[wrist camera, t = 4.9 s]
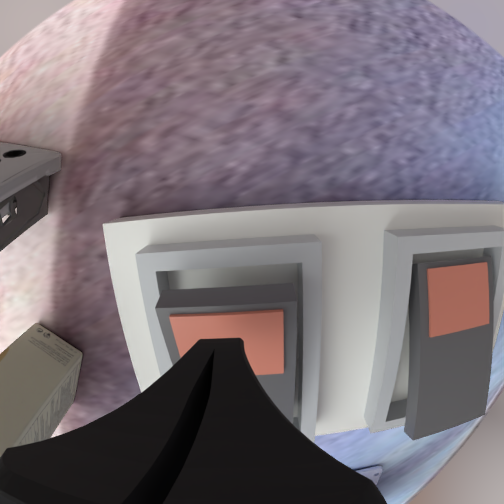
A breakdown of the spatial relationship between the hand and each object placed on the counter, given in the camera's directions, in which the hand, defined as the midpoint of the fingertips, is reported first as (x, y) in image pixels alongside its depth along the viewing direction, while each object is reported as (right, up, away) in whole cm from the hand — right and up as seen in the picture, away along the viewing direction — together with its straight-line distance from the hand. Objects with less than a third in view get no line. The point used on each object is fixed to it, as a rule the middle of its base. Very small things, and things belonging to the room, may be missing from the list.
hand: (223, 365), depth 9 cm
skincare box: (-14, -5, +9) cm, 17 cm away
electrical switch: (-14, +8, +6) cm, 17 cm away
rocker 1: (0, -2, +4) cm, 4 cm away
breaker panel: (+6, -1, +8) cm, 10 cm away
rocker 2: (+11, -1, +4) cm, 12 cm away
